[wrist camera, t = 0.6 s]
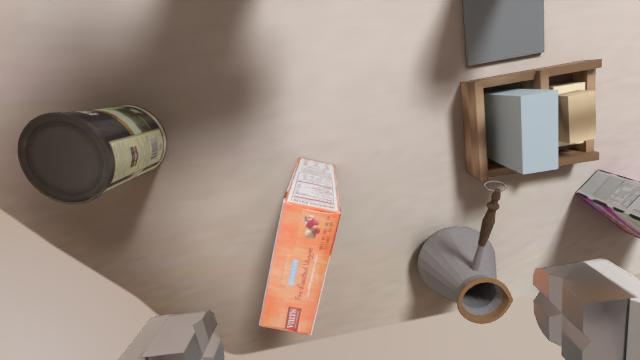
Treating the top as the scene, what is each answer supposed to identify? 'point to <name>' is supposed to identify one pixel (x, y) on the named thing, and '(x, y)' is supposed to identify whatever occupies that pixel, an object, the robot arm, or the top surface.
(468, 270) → the coffee pot
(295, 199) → the cracker box
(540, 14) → the mat
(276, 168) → the top surface
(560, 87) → the block
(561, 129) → the upper offcut
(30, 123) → the coffee can
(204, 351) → the robot arm
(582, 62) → the rack
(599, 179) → the candy bar box
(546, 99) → the board
